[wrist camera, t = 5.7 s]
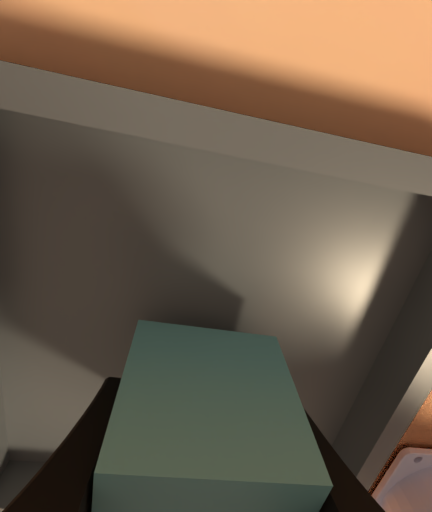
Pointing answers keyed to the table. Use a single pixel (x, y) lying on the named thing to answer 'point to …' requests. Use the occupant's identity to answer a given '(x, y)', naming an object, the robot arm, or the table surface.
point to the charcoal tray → (204, 258)
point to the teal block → (207, 428)
